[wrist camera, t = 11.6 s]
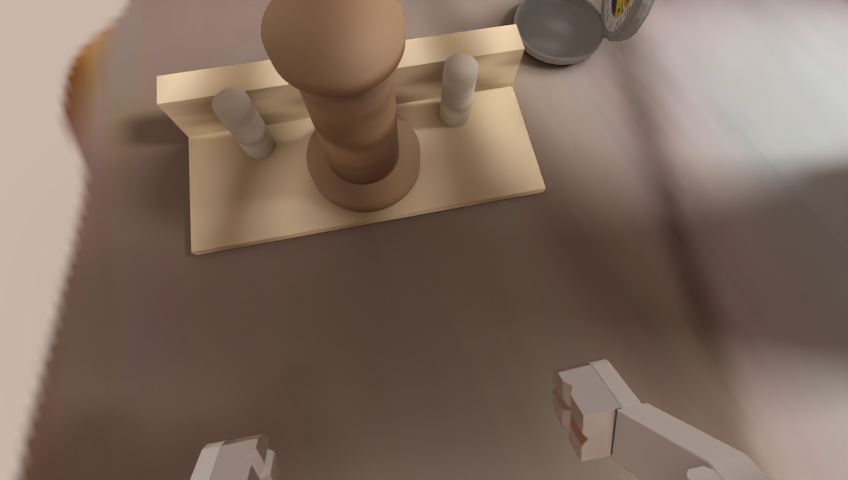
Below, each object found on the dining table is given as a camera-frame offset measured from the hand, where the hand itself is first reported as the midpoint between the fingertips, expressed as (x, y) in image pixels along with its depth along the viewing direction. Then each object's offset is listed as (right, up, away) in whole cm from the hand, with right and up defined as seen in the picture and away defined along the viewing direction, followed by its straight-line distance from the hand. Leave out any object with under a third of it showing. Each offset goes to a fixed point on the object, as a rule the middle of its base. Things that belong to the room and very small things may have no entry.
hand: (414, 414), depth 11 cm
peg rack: (-4, +11, +16) cm, 19 cm away
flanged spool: (-3, +10, +15) cm, 18 cm away
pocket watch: (+11, +20, +19) cm, 30 cm away
